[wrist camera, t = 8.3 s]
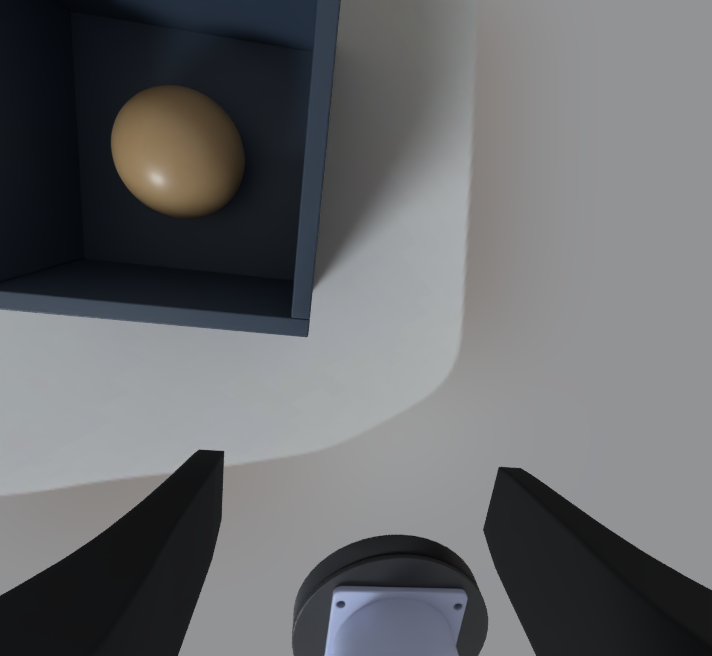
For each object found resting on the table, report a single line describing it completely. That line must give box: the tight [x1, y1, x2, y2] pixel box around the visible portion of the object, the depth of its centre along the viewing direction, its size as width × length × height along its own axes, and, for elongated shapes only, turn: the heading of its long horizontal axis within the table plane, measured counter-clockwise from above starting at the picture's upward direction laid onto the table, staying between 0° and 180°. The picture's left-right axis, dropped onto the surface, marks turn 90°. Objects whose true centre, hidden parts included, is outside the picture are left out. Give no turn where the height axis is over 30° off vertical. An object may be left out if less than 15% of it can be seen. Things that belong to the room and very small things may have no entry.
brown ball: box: [111, 85, 245, 219], centre depth 16 cm, size 4×4×4 cm
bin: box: [0, 0, 341, 337], centre depth 15 cm, size 10×10×6 cm
